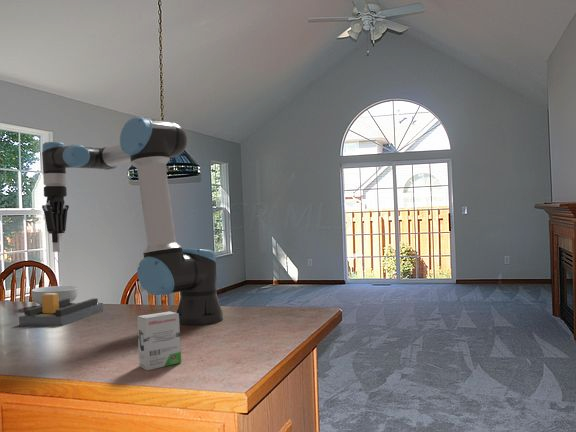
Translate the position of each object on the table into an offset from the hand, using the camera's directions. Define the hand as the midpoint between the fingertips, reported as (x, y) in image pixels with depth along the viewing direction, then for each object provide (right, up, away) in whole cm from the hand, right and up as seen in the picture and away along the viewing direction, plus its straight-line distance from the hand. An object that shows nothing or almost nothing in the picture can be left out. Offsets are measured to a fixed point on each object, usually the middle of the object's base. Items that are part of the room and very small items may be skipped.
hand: (57, 251), depth 197 cm
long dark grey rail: (+11, -19, -9) cm, 24 cm away
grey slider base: (+5, -22, -8) cm, 24 cm away
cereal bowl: (-8, -23, +18) cm, 30 cm away
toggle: (+4, -19, -15) cm, 25 cm away
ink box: (+53, -22, -70) cm, 91 cm away
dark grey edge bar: (0, -20, -7) cm, 21 cm away
